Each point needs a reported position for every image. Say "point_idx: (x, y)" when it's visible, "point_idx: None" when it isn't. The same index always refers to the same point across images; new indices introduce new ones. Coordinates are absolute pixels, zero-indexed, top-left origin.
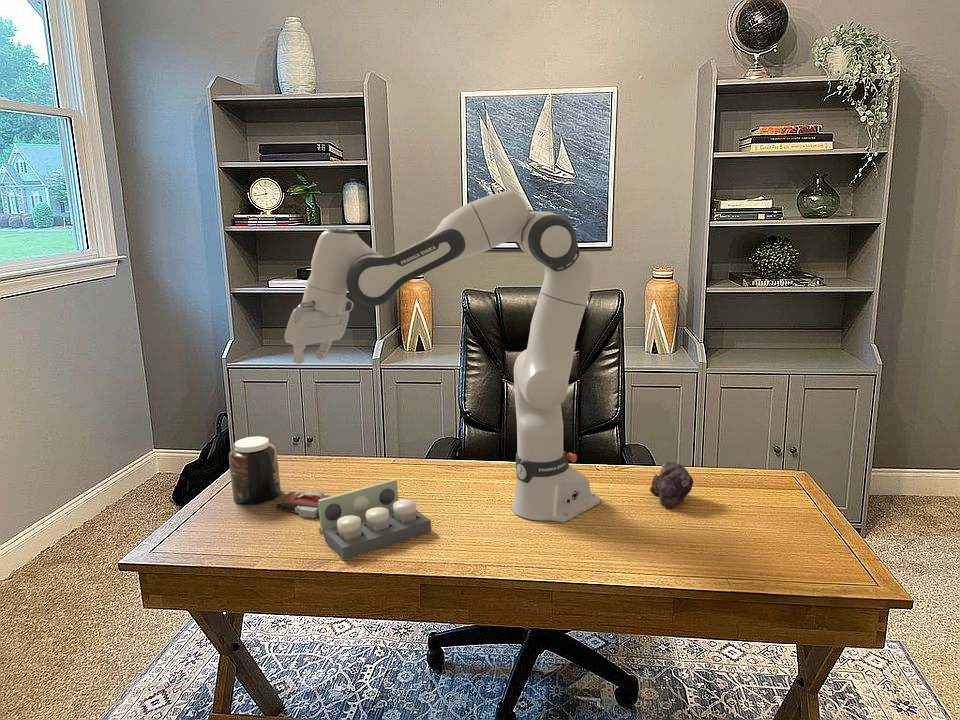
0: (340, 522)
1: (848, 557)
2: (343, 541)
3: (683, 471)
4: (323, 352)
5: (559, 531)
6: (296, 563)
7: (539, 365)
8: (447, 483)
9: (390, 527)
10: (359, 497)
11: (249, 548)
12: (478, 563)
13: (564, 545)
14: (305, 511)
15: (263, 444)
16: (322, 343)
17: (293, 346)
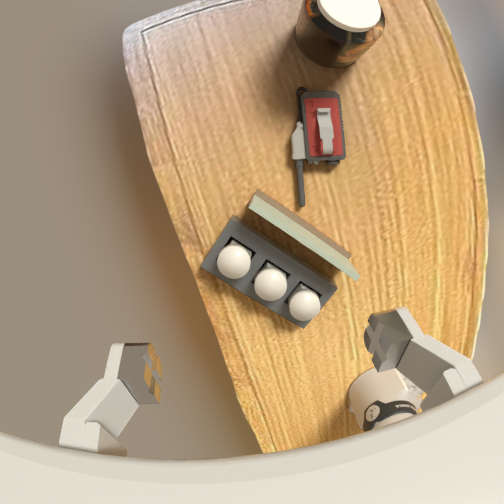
0: (224, 255)
1: None
2: (215, 258)
3: None
4: (381, 370)
5: (331, 410)
6: (176, 210)
7: None
8: (430, 280)
9: None
10: (301, 243)
11: (185, 128)
12: (252, 378)
13: (306, 419)
14: (292, 144)
15: (349, 26)
16: (445, 368)
17: (64, 422)
